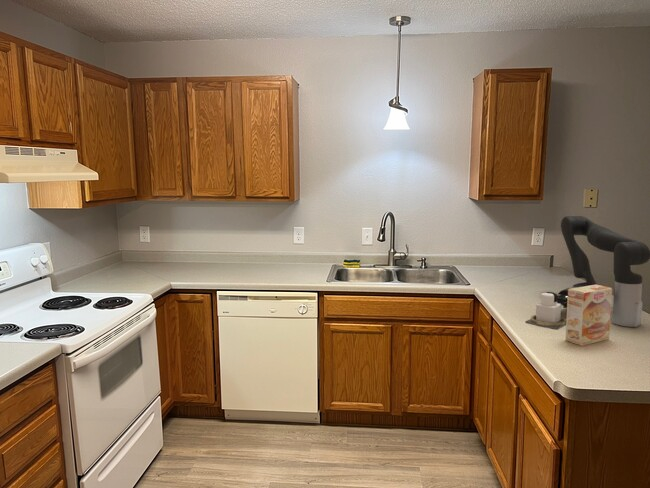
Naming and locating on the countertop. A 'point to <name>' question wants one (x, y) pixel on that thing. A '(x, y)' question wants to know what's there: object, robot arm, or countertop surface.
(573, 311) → the coffeecake box
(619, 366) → the countertop surface
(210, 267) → the countertop surface
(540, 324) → the ring seat
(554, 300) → the medicine bottle
